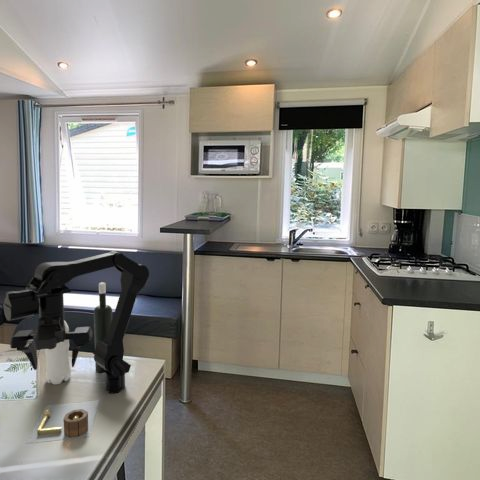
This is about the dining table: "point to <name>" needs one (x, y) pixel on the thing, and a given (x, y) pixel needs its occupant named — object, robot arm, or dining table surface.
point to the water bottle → (58, 362)
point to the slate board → (62, 420)
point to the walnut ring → (75, 423)
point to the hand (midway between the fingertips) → (54, 367)
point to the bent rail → (47, 430)
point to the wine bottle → (102, 319)
